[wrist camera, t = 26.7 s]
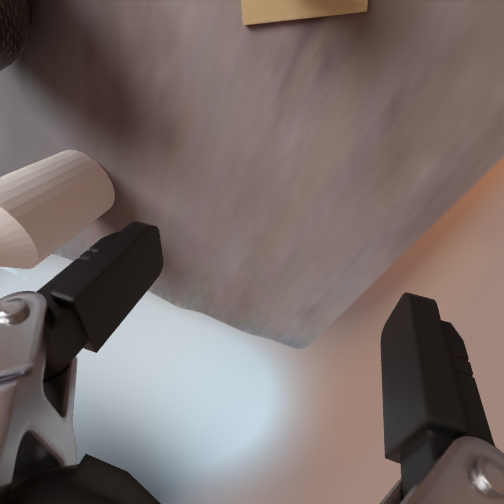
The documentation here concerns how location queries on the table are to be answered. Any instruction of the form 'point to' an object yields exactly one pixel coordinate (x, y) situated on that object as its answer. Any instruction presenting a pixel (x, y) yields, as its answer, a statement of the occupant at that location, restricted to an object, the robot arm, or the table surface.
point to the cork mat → (297, 9)
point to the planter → (13, 29)
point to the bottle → (49, 206)
